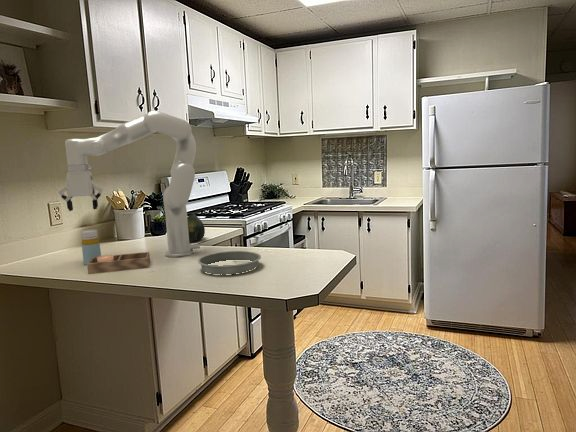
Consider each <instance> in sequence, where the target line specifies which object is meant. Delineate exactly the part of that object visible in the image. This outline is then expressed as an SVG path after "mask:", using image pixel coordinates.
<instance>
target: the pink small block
mask: <svg viewBox="0 0 576 432" xmlns="http://www.w3.org/2000/svg"><path fill="white" fill-rule="evenodd" d="M97 261H98V262H107V261H114V259H113V255H112V254H104V255H101V256H99V257H97Z"/></svg>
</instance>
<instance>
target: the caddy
mask: <svg viewBox="0 0 576 432" xmlns="http://www.w3.org/2000/svg"><path fill="white" fill-rule="evenodd" d="M150 256H151V255H150V252H149V251H143V252H135V253H122V254H115V255H113V259H114V261H107V262H98V261H97V257H92V259H91V260H90V261H89V262H88V264H87V271H88V272H87V274H88V275H92V274H93V275H95V274H101V273H113V272H120V271H123V272H124V271H129V270H130V271H131V270H133V271H134V270H142V269H148V268H149V267H150V263H151V257H150Z"/></svg>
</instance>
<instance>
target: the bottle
mask: <svg viewBox="0 0 576 432" xmlns="http://www.w3.org/2000/svg"><path fill="white" fill-rule="evenodd" d="M80 235H81V239H82V240H81V250H82V251H81V252H82V261H83V265H84V266H87V264H88V262H89V261H90V260H91V259H92V257H99V256H102V252H101V244H100V239H99V234H98V230H97V229H87V230H82V231H81V234H80ZM87 267H88V266H87Z"/></svg>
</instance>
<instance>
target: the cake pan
mask: <svg viewBox="0 0 576 432" xmlns="http://www.w3.org/2000/svg"><path fill="white" fill-rule="evenodd" d="M260 259H262V256H261V254H260V253H257V252H254V251H247V250H232V251H231V250H230V251H220V252H219V251H218V252H214V253H210V254H209V253H208V254H206V255H204V256H201V257H199V258H198V259H197V263H198V264H199V265H200V267H201V269H202V272H203V271H204V272H207V273H211V274H220V275H221V274H222V275H226V274H236V273H242V272H246V271H249V270H252V269H254V268H255V267H256V266H257V267H258V265H259V261H260ZM226 260H250V261H252V262H242V263H239V264H238V263H237V264H236V265H223V266H218V265H208V264H211V263H215V262H219V261H226ZM204 272H203V273H204Z"/></svg>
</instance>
